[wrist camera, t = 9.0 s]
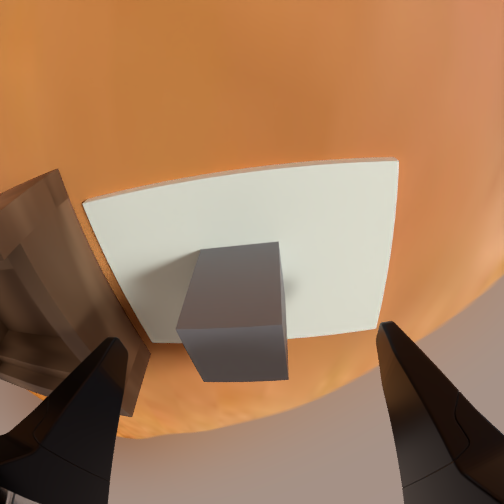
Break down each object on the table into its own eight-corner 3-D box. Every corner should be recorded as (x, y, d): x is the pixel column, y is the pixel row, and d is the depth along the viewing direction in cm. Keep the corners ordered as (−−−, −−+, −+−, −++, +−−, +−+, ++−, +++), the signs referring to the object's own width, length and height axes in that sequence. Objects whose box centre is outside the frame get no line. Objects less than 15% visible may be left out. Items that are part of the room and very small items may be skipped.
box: (21, 339, 18) (0, 378, 14) (-51, 222, 11) (-87, 259, 8) (150, 353, 16) (132, 417, 13) (57, 168, 10) (-15, 223, 6)
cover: (156, 329, 16) (133, 404, 12) (93, 193, 11) (24, 263, 7) (371, 314, 14) (394, 396, 10) (388, 152, 9) (460, 216, 5)
